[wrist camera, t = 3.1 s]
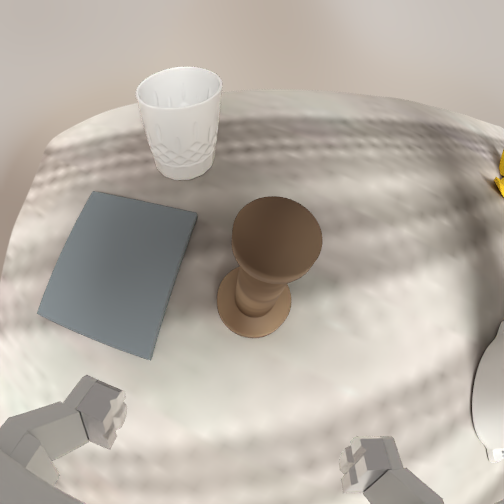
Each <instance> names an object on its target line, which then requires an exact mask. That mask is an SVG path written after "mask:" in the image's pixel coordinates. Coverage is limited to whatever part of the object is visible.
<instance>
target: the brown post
mask: <svg viewBox="0 0 504 504" xmlns="http://www.w3.org/2000/svg"><path fill="white" fill-rule="evenodd" d="M321 248H322V233H321V229H320V227H319V224H318V222H317V221H316V219H315V218H314V216H313V215H312V214H311V213H310V212H309V211H308V210H307V209H306V208H305V207H303V206H302V205H301V204H299V203H297V202H295V201H293V200H290V199H287V198H283V197H263V198H259V199H256V200H254V201H252V202H250V203H248V204H247V205H246V206H244V207H243V208H242V209H241V211H240V212H239V213H238V215H237V216H236V218H235V221H234V224H233V230H232V250H233V254H234V256H235V259H236V260H237V262H238V264H239V265H240V266H239V267H237V268H235V269H234V270H232V271H231V272H229V273H228V274H227V275H226V276H225V277H224V279H223V280H222V282H221V284H220V286H219V289H218V294H217V306H218V312H219V315H220V317H221V319H222V321H223V323H224V324H225V325H226V326H227V327H228V328H229V329H230V330H231V331H232V332H234V333H236V334H238V335H240V336H243V337H248V338H260V337H264V336H266V335H269V334H271V333H272V332H274V331H275V330H276V329H277V328H278V327H279V326H280V325H281V324H282V323H283V322H284V321H285V319H286V318H287V316H288V314H289V311H290V307H291V294H290V290H289V287H288V285H287V283H289V282H293V281H295V280H297V279H299V278H301V277H302V276H303V275H305V274H306V273H307V272H308V271H309V269H310V268H311V267H312V265H313V264H314V262H315V261H316V260H317V258H318V256H319V254H320V251H321Z"/></svg>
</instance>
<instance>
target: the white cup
mask: <svg viewBox="0 0 504 504" xmlns="http://www.w3.org/2000/svg"><path fill="white" fill-rule="evenodd" d="M221 94H222V80H221V78H220V77H219V76H218V75H217V74H215V73H214V72H212V71H210V70H207V69H204V68H199V67H175V68H169V69H165V70H162V71H159V72H157V73H155V74H153V75H151V76H149V77H148V78H146V79H145V80H143V81H142V82H141V83H140V84H139V86H138V88H137V90H136V98H137V102H138V106H139V110H140V114H141V118H142V122H143V126H144V130H145V133H146V136H147V140H148V143H149V146H150V149H151V151H152V153H153V157H154V160H155V164H156V168H157V169H158V170H159V171H160V172H161V173H162V174H163V176H165V177H168V178H171V179H174V180H190V179H193V178H195V177H198V176H201V175H203V174H204V173H205V172H206V171H207V170H208V169H209V168H210V167H211V166H212V164H213V160H214V157H215V145H216V142H217V132H218V125H219V115H220V104H221Z"/></svg>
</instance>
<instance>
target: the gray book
mask: <svg viewBox="0 0 504 504" xmlns="http://www.w3.org/2000/svg"><path fill="white" fill-rule="evenodd" d="M196 219H197V213H195V212H191V211H186V210H182V209H177V208H172V207H168V206H163V205H158V204H154V203H149V202H144V201H140V200H135V199H130V198H125V197H120V196H115V195H110V194H105V193H100V192H95V191H93V192H92V194H91V195H90V197H89V199H88V201H87V203H86V204H85V206H84V208H83V210H82V212H81V214H80V215H79V217H78V219H77V221H76V223H75V225H74V227H73V229H72V231H71V233H70V235H69V237H68V239H67V241H66V243H65V246H64V248H63V250H62V252H61V254H60V256H59V259H58V261H57V263H56V266H55V268H54V270H53V273H52V275H51V277H50V280H49V282H48V285H47V287H46V290H45V293H44V295H43V298H42V301H41V303H40V306H39V309H38V312H37V314H39V315H41V316H42V317H45V318H47V319H49V320H51V321H53V322H55V323H57V324H59V325H61V326H63V327H66V328H68V329H70V330H72V331H75V332H77V333H79V334H82V335H84V336H86V337H89V338H91V339H94V340H96V341H98V342H101V343H103V344H106V345H109V346H111V347H114V348H116V349H119V350H122V351H125V352H127V353H130V354H133V355H136V356H139V357H142V358H145V359H148V360H151V358H152V355H153V351H154V348H155V344H156V341H157V337H158V334H159V330H160V327H161V324H162V320H163V317H164V314H165V311H166V307H167V304H168V301H169V298H170V295H171V292H172V289H173V286H174V282H175V279H176V276H177V273H178V270H179V267H180V265H181V262H182V259H183V256H184V253H185V250H186V247H187V244H188V241H189V239H190V236H191V233H192V230H193V228H194V225H195V222H196Z"/></svg>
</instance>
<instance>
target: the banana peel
mask: <svg viewBox="0 0 504 504" xmlns="http://www.w3.org/2000/svg"><path fill="white" fill-rule="evenodd" d="M499 170H500V174H501V175H502V176H503V177H504V150H503V153H502V156H501V160H500V166H499ZM494 181H495V183H496V185H497V186H498V188H499V190H500V192H501V194H502V195H503V197H504V178H502V179H499V178H497V177H496V178H495V179H494Z"/></svg>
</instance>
